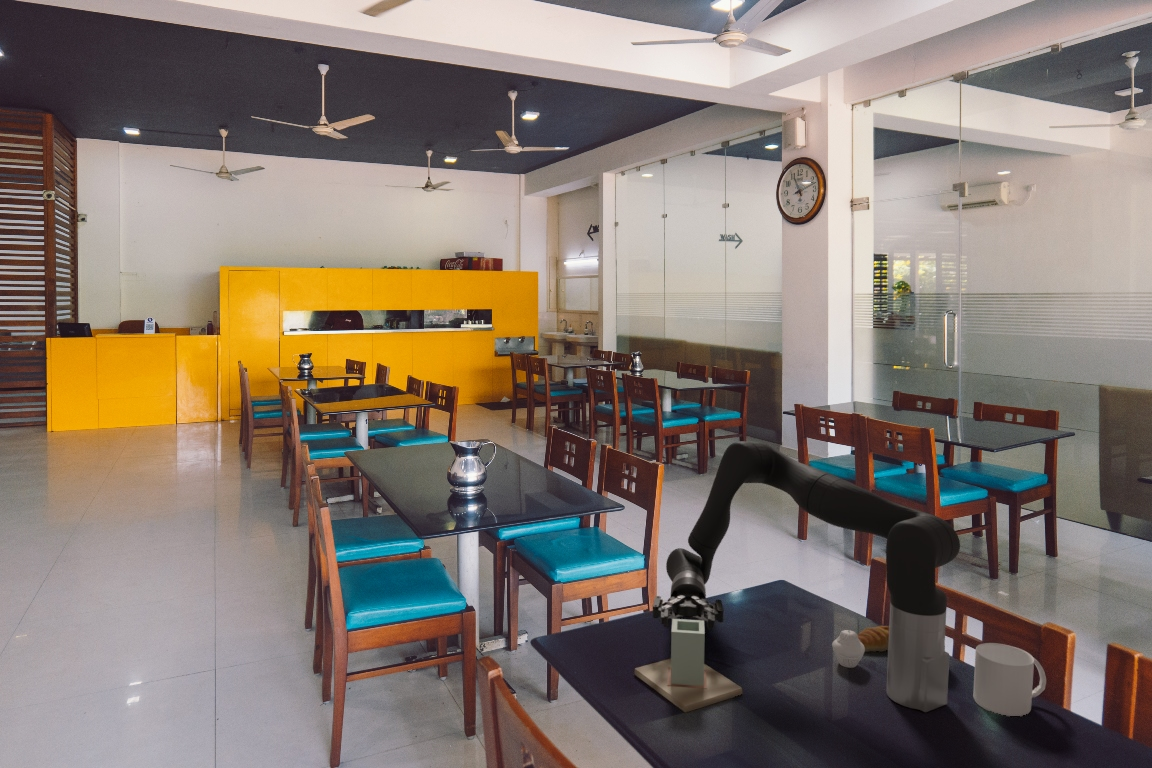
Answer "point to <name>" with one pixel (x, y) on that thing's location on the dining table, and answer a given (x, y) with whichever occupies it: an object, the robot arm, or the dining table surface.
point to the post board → (688, 686)
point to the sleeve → (687, 652)
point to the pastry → (875, 638)
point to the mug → (1005, 679)
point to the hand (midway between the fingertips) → (687, 623)
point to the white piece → (848, 649)
